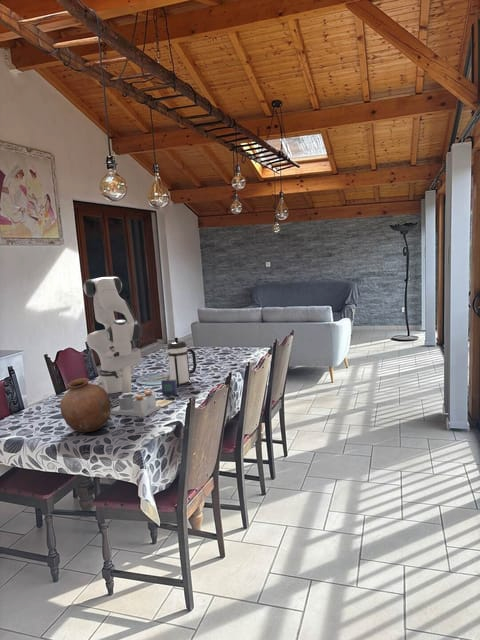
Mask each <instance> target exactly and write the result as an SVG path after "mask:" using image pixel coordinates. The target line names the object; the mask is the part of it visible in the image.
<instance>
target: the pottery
mask: <svg viewBox="0 0 480 640" xmlns="http://www.w3.org/2000/svg"><path fill="white" fill-rule="evenodd" d="M89 382H90V379H89V378H87V377H82V378H81V377H80V378H77V379H73V380H72V381H70V382H69V383H68V384H67V387H68V388H69V389H68V390H67V391H66V393H64V395H63V396H62V398H61V400H60V405H59V407H60V413H61V417H62V418H63V420H64V421H65V423H66V425H67V426H69V428H71V429H72V430H73V431H75V432H79V433H90V432H91V433H92V432H95V431H98V430H99V429H101V428H103V427H104V426H106V424H107V422H108V421H109V419H110V418H111V415H112V414H111V410H112V409H111V408H112V406H111V399H110V396H109V394H107V392H106V391H105V390H104V389H103V388H101V387H100V386H97V385H94V384H93V383H89Z"/></svg>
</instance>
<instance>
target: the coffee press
mask: <svg viewBox="0 0 480 640" xmlns="http://www.w3.org/2000/svg"><path fill="white" fill-rule="evenodd" d="M165 352H166V353H167V361H168V367H169V368H168V370H169V377H170V379H169V380H172V379H176V384H177V388H179V387H180V385H182V384H186V383H188V384H190V385H191V384H192V383H193V380H191V376H190V375H191V374H194V373H195V372H196V371H197V358H196V353H195V351H194V350H193V349H191V348H188V344H187V343H186V341H184V340H179V337H174V340H173V341H170V342H168V343H167V346H166V350H165ZM188 353H190V354H191V356H192V357H191V358H192V369H191V370H190V366H189V365H190V364H189V354H188Z"/></svg>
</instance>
